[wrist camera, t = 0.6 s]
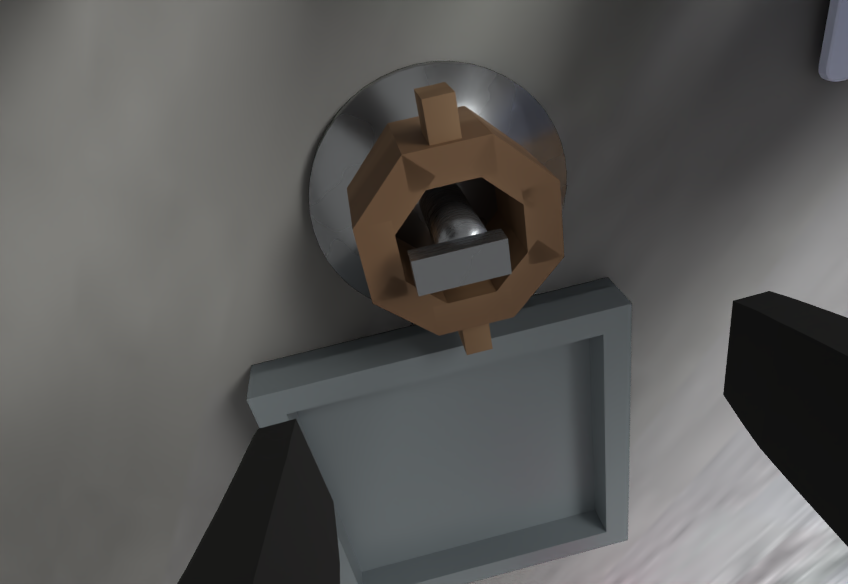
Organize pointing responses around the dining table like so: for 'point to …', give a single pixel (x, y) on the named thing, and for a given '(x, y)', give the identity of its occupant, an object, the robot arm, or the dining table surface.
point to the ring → (443, 165)
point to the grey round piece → (438, 207)
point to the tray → (468, 439)
